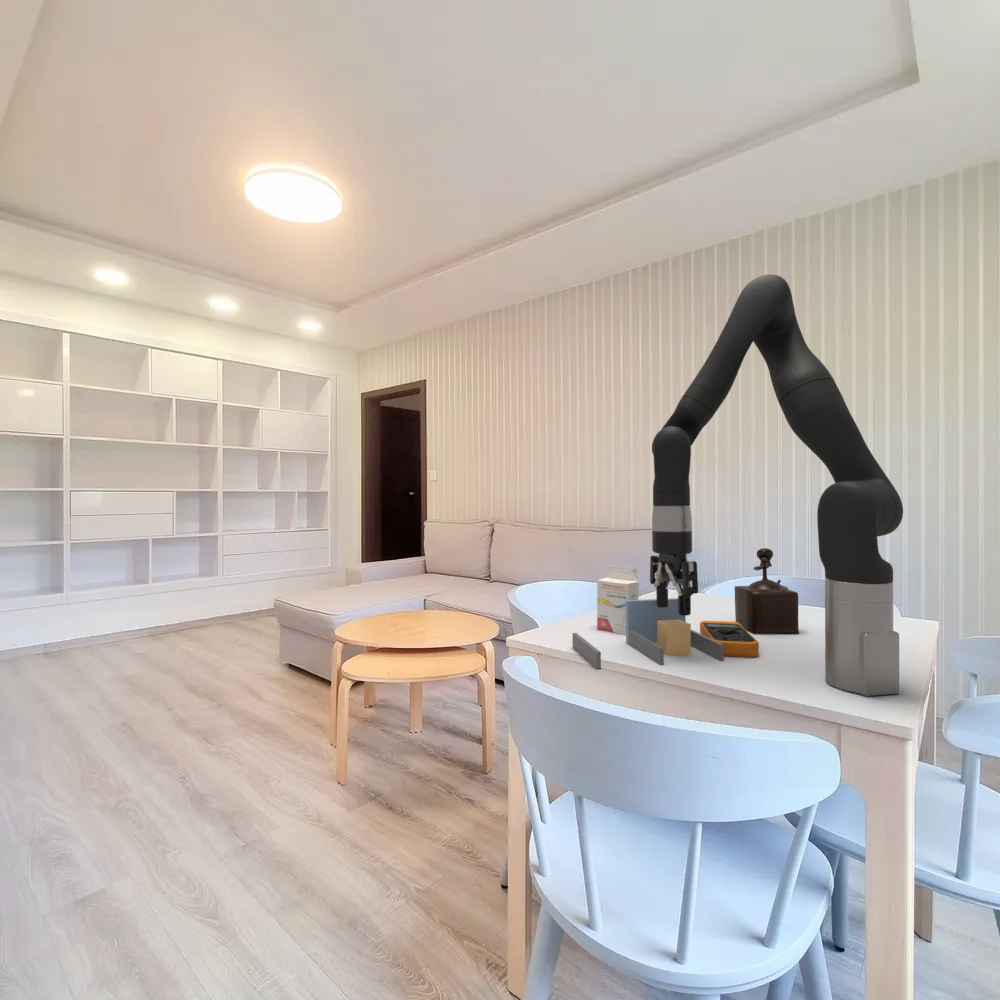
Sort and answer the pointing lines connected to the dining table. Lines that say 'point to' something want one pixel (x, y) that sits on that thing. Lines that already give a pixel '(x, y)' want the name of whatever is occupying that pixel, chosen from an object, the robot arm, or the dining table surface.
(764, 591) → the manual coffee grinder
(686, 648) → the tan wooden cube
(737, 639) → the multimeter
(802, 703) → the dining table surface
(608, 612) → the ink cartridge box
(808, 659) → the dining table surface
